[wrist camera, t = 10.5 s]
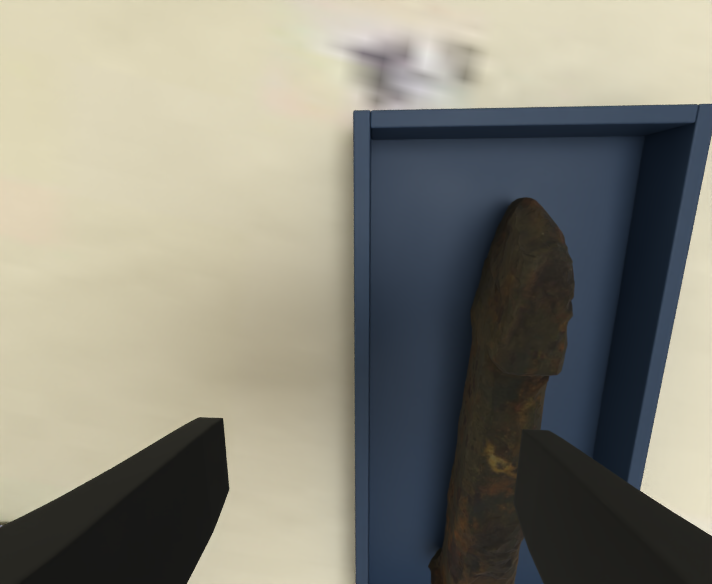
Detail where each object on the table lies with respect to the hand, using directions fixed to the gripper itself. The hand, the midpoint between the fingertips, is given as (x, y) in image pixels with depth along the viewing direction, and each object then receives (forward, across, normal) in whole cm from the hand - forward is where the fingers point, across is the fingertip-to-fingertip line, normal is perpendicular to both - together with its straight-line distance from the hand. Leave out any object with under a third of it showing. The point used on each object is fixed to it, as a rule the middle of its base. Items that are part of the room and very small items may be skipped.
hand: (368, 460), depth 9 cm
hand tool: (+9, -5, +3) cm, 11 cm away
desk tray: (+9, -5, +3) cm, 11 cm away
